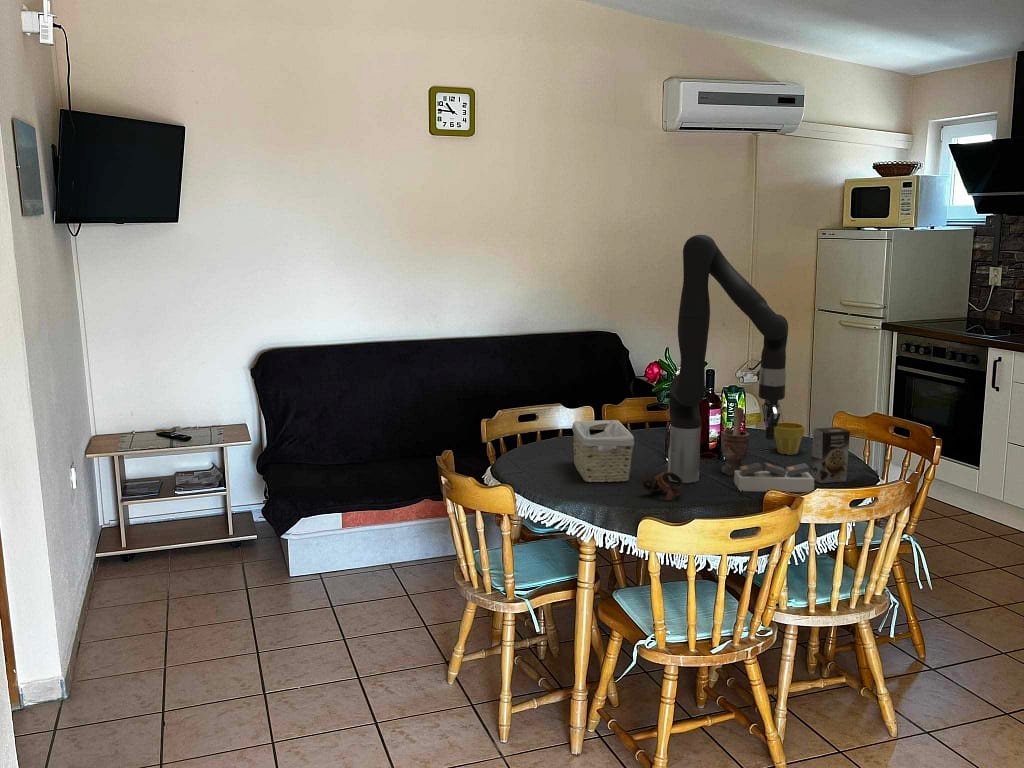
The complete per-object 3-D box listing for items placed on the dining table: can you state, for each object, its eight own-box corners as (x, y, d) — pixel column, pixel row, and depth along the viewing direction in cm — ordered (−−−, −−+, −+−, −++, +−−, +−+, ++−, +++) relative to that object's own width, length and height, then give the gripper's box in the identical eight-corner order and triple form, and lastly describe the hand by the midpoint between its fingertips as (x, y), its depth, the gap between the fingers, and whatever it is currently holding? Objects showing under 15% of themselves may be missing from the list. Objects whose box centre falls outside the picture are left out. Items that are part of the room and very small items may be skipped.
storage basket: (570, 463, 304) (571, 419, 301) (618, 461, 305) (619, 418, 302) (582, 484, 280) (583, 438, 278) (634, 483, 282) (635, 437, 279)
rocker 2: (765, 470, 275) (767, 465, 274) (762, 466, 279) (763, 461, 279) (784, 476, 275) (786, 471, 274) (781, 471, 279) (782, 467, 279)
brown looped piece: (671, 490, 276) (682, 471, 272) (677, 513, 269) (688, 494, 264) (634, 483, 274) (645, 463, 269) (639, 505, 266) (650, 485, 261)
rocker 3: (790, 476, 275) (789, 471, 274) (786, 471, 279) (785, 467, 279) (810, 471, 274) (809, 466, 274) (806, 467, 278) (805, 462, 278)
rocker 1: (742, 475, 275) (741, 470, 275) (740, 471, 280) (738, 466, 279) (762, 470, 275) (761, 465, 274) (759, 466, 279) (758, 461, 279)
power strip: (739, 491, 274) (739, 476, 273) (733, 482, 282) (734, 468, 281) (813, 492, 273) (814, 477, 272) (806, 484, 281) (807, 469, 280)
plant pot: (768, 448, 322) (770, 421, 320) (798, 448, 321) (800, 421, 319) (775, 456, 311) (777, 428, 310) (806, 456, 311) (808, 428, 309)
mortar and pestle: (715, 465, 301) (718, 406, 297) (742, 465, 300) (745, 406, 296) (722, 476, 289) (725, 414, 285) (749, 476, 289) (753, 414, 285)
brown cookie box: (821, 483, 282) (824, 432, 278) (809, 477, 288) (812, 427, 284) (847, 481, 284) (850, 431, 281) (834, 475, 290) (838, 426, 287)
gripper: (754, 378, 278) (752, 433, 282) (764, 386, 265) (761, 444, 269) (779, 378, 278) (776, 433, 281) (790, 386, 265) (787, 444, 268)
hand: (769, 438), depth 275 cm, fingers closed
